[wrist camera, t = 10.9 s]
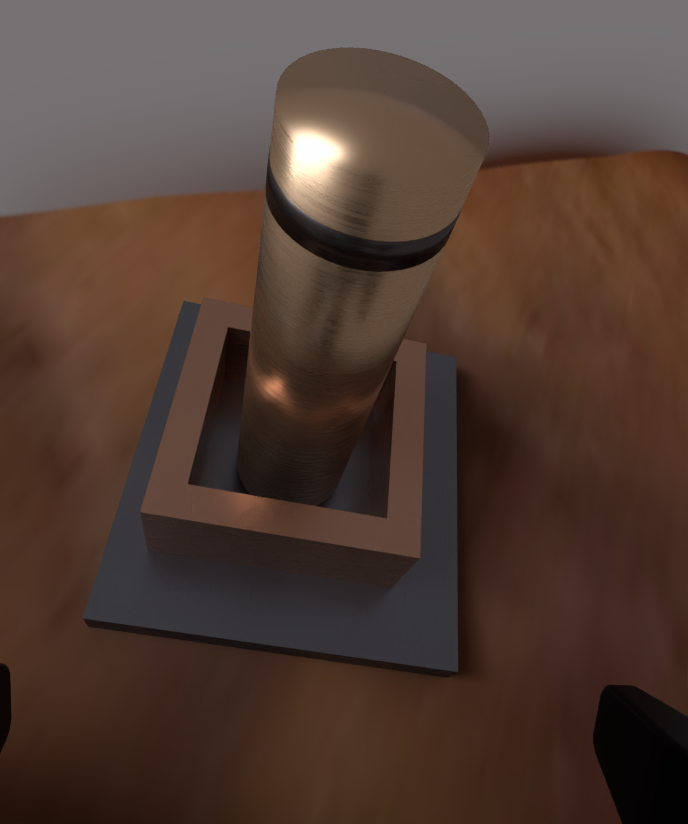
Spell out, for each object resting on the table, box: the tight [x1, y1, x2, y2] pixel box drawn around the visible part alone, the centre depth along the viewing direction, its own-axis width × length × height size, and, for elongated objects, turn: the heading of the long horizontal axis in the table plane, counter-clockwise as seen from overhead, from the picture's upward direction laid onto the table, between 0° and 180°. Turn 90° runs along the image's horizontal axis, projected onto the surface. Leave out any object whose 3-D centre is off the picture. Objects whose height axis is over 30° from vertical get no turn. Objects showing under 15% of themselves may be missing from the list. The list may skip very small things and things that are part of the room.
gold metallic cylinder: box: [237, 48, 489, 506], centre depth 16 cm, size 4×4×13 cm
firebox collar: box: [83, 297, 458, 677], centre depth 20 cm, size 12×11×4 cm
